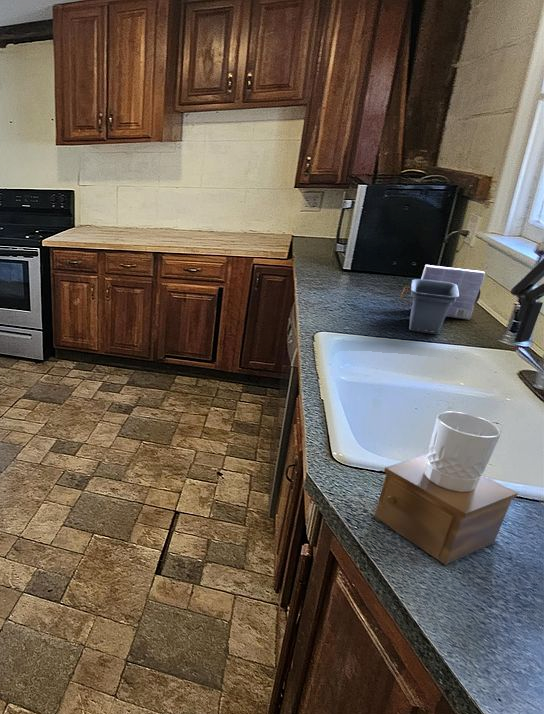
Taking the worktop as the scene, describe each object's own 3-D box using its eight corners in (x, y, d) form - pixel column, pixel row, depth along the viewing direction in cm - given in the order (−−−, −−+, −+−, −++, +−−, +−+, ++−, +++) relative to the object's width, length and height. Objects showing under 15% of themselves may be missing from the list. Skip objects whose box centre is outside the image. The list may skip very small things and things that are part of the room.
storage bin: (447, 339, 173) (460, 296, 167) (393, 330, 180) (403, 289, 175) (445, 322, 189) (457, 283, 184) (395, 315, 197) (405, 277, 192)
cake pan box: (472, 317, 195) (487, 270, 189) (473, 320, 191) (489, 272, 185) (411, 309, 204) (423, 264, 198) (411, 312, 200) (424, 266, 194)
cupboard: (497, 543, 84) (518, 492, 80) (441, 568, 79) (461, 515, 75) (420, 498, 94) (435, 451, 91) (366, 517, 89) (380, 468, 85)
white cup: (435, 460, 88) (452, 407, 84) (489, 485, 82) (511, 428, 78) (409, 474, 84) (426, 419, 80) (464, 501, 78) (486, 442, 74)
